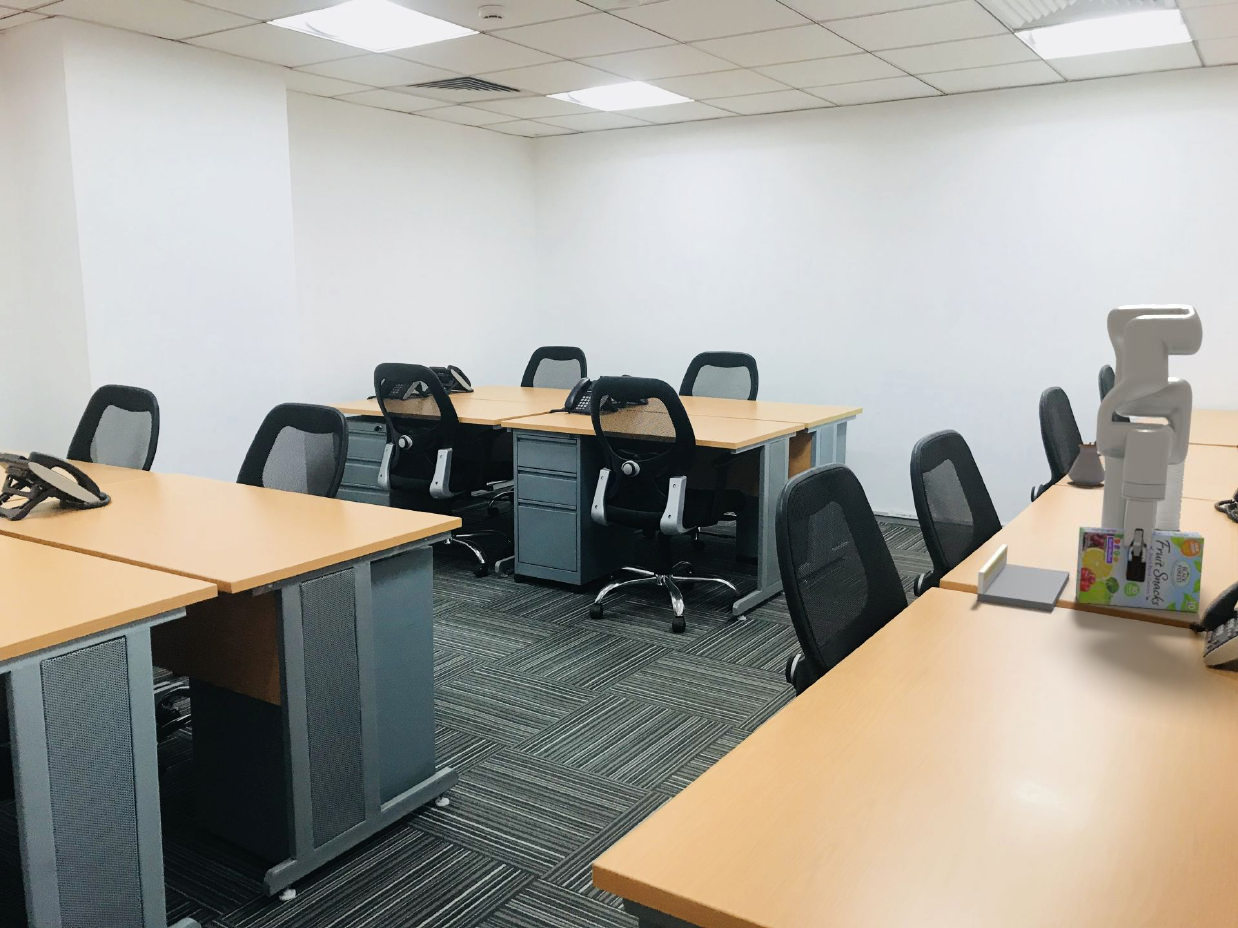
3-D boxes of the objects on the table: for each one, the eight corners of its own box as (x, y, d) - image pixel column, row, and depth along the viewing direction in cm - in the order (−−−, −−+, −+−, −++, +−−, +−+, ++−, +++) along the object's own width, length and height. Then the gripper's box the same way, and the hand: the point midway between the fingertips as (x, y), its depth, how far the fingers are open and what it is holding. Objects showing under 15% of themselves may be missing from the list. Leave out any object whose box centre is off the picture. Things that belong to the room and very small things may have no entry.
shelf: (1001, 569, 214) (1002, 544, 213) (1069, 578, 207) (1070, 551, 206) (976, 600, 192) (978, 571, 191) (1051, 611, 185) (1053, 581, 184)
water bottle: (1175, 532, 246) (1184, 438, 242) (1148, 528, 251) (1155, 436, 247) (1183, 526, 253) (1191, 434, 249) (1156, 523, 257) (1164, 432, 253)
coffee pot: (1064, 484, 313) (1067, 440, 311) (1070, 479, 323) (1073, 435, 320) (1137, 490, 301) (1141, 444, 299) (1141, 485, 311) (1144, 440, 308)
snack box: (1191, 605, 188) (1198, 531, 185) (1198, 613, 183) (1205, 538, 180) (1074, 595, 195) (1079, 524, 192) (1078, 603, 189) (1083, 530, 187)
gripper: (1125, 482, 194) (1119, 563, 197) (1118, 496, 180) (1111, 583, 182) (1167, 485, 190) (1160, 567, 193) (1163, 499, 176) (1156, 588, 178)
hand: (1137, 575), depth 187 cm, fingers open, 9 cm apart
